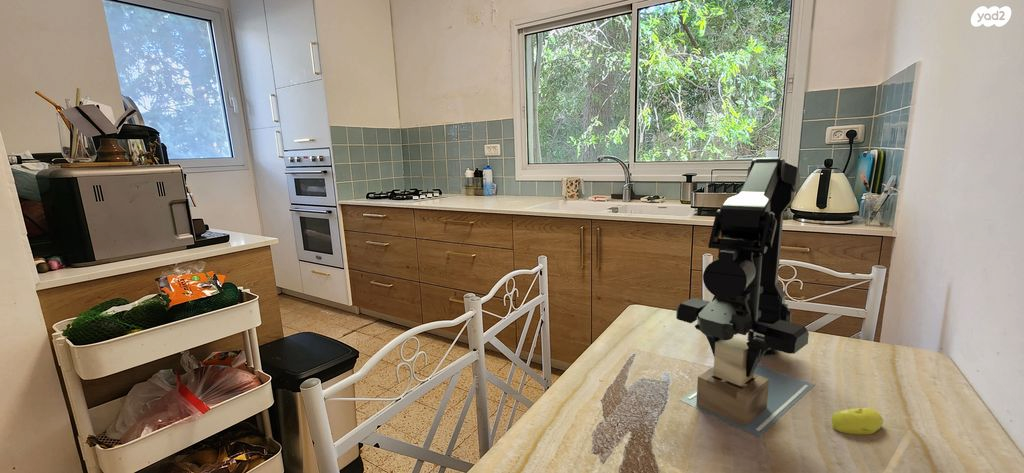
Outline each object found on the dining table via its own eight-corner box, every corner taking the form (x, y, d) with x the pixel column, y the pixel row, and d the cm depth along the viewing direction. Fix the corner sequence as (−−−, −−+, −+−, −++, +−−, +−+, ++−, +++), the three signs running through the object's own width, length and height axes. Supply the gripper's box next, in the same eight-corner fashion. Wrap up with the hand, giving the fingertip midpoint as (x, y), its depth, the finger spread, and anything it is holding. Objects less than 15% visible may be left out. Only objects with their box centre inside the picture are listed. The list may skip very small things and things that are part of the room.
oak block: (726, 366, 74) (728, 334, 73) (753, 376, 71) (756, 343, 70) (713, 375, 72) (715, 342, 71) (740, 386, 68) (743, 351, 67)
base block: (719, 388, 78) (721, 361, 77) (766, 407, 72) (769, 379, 71) (696, 404, 73) (697, 376, 72) (744, 426, 67) (746, 396, 66)
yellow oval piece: (821, 425, 68) (823, 403, 67) (868, 421, 68) (871, 399, 68) (843, 442, 64) (846, 419, 63) (893, 438, 64) (896, 415, 63)
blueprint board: (741, 362, 88) (742, 358, 88) (814, 388, 78) (815, 383, 78) (679, 404, 75) (679, 399, 74) (758, 441, 64) (758, 436, 64)
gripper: (659, 279, 71) (656, 365, 74) (782, 308, 56) (773, 414, 59) (695, 266, 77) (691, 346, 80) (814, 290, 63) (804, 386, 66)
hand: (733, 370), depth 71 cm, fingers closed on oak block, 4 cm apart
